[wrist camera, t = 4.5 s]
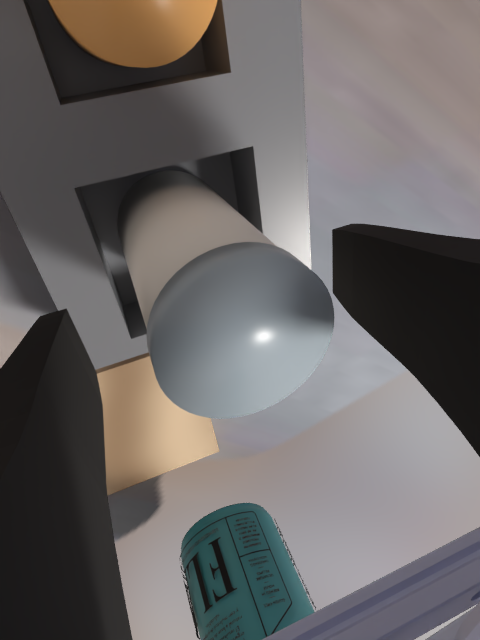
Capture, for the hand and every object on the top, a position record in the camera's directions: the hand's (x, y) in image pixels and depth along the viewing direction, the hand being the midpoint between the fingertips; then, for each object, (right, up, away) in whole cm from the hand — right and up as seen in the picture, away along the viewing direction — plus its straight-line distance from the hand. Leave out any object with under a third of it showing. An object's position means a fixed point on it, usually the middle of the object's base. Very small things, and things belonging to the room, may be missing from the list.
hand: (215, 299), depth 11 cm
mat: (-5, -6, +10) cm, 12 cm away
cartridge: (-2, +3, +5) cm, 6 cm away
